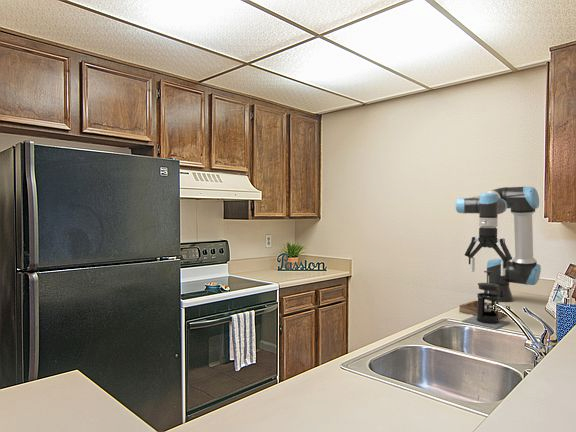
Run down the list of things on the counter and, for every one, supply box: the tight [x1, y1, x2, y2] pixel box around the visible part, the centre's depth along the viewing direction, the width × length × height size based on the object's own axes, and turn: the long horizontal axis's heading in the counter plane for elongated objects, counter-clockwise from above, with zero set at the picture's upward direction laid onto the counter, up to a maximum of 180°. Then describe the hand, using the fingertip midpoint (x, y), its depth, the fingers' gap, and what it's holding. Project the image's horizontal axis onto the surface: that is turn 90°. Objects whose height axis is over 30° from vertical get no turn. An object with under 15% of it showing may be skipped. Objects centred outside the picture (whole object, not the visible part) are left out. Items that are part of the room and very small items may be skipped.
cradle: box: [459, 300, 511, 319], centre depth 206 cm, size 17×17×4 cm
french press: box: [476, 270, 500, 324], centre depth 188 cm, size 12×9×23 cm
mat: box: [461, 315, 511, 330], centre depth 189 cm, size 15×15×1 cm
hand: (487, 273), depth 188 cm, fingers open, 13 cm apart
